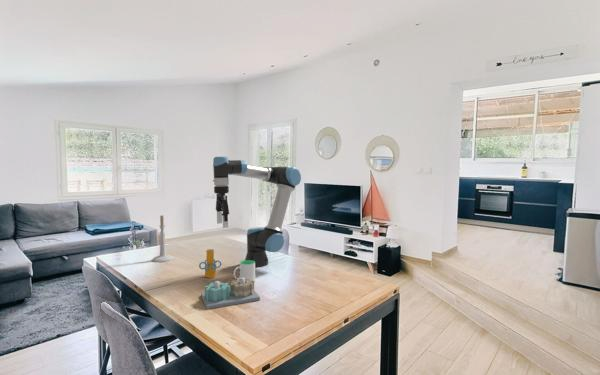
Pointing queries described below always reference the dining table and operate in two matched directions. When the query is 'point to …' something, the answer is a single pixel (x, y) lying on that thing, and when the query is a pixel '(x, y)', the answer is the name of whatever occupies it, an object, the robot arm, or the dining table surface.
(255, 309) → the dining table surface
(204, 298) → the gear board
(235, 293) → the gear
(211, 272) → the orange post with rings
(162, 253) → the candlestick
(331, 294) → the dining table surface
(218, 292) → the gear
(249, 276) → the mug
